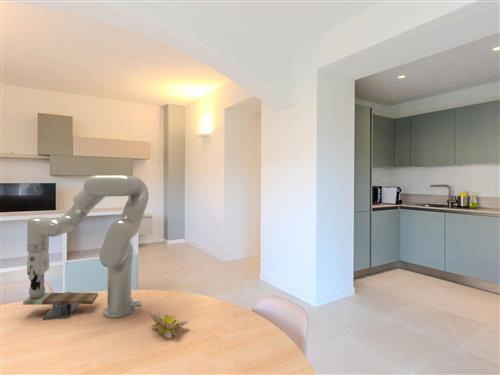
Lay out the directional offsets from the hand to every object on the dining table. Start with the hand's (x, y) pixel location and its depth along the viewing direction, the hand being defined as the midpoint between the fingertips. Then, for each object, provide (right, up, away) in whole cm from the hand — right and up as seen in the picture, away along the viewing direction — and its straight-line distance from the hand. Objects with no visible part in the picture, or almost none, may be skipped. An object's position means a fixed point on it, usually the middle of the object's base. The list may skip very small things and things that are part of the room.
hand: (37, 289), depth 126 cm
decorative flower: (+60, -12, -13) cm, 62 cm away
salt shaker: (0, -3, 0) cm, 3 cm away
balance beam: (+9, -6, +2) cm, 11 cm away
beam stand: (+9, -11, +3) cm, 14 cm away
